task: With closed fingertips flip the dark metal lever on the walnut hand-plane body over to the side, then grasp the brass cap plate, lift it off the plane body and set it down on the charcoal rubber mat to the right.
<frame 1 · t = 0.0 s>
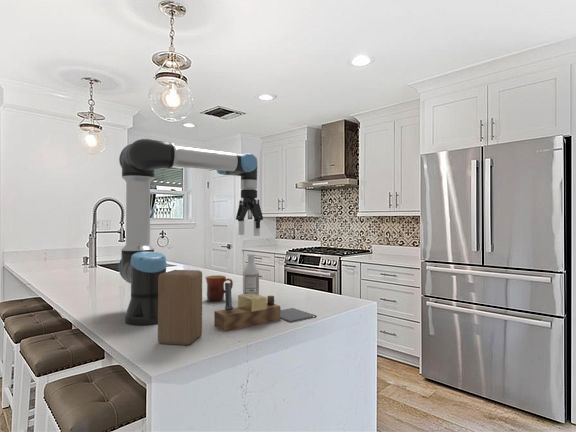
hand: (248, 235, 171), 28 cm above the countertop, fingers open, 13 cm apart
block: (180, 340, 109), on the countertop
bath foam: (251, 300, 164), on the countertop
cap: (252, 307, 128), point 5 cm above the countertop, touching plane body
mug: (219, 300, 162), on the countertop
lever: (228, 296, 123), point 10 cm above the countertop, hinge at -5.0°
mat: (291, 315, 137), on the countertop
plane body: (248, 323, 127), on the countertop
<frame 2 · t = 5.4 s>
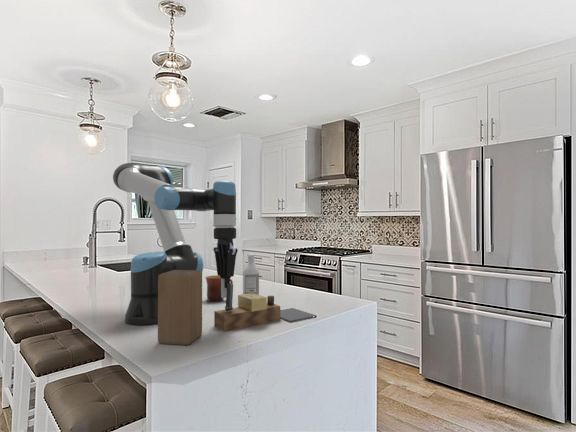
hand: (225, 297, 124), 9 cm above the countertop, fingers closed
lever: (229, 297, 122), point 10 cm above the countertop, hinge at 6.4°, touching gripper
everything else where it was.
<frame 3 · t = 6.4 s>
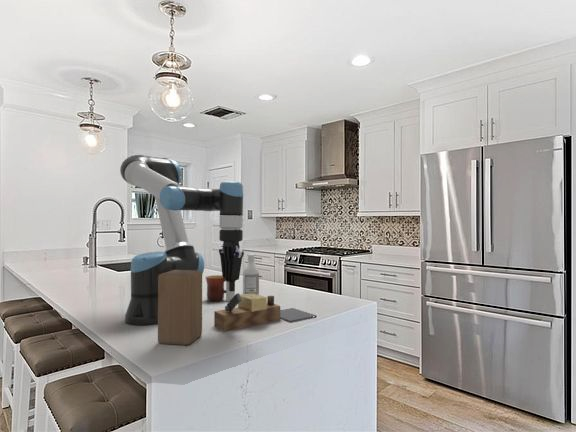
hand: (230, 300, 122), 9 cm above the countertop, fingers closed
lever: (233, 303, 120), point 8 cm above the countertop, hinge at 54.0°, touching gripper
everything else where it was.
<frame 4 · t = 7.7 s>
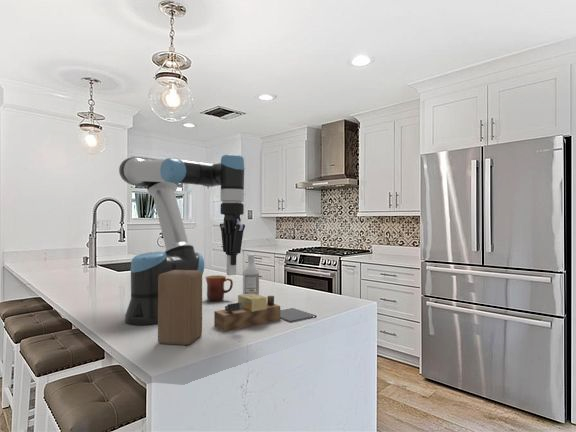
hand: (231, 274, 121), 17 cm above the countertop, fingers closed
lever: (234, 307, 119), point 7 cm above the countertop, hinge at 74.8°
everything else where it was.
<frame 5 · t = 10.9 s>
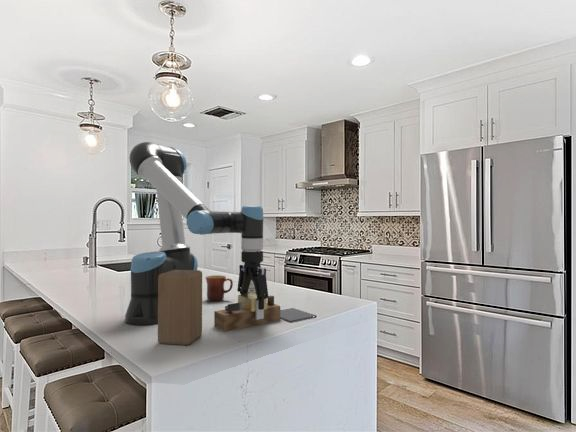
hand: (252, 315, 128), 2 cm above the countertop, fingers closed on cap, 9 cm apart
cap: (252, 307, 128), point 5 cm above the countertop, touching gripper, plane body
everything else where it was.
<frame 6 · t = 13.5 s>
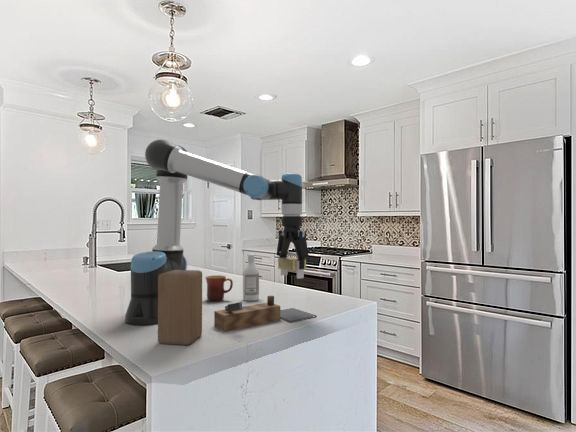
hand: (291, 276, 137), 14 cm above the countertop, fingers closed on cap, 9 cm apart
cap: (291, 269, 137), point 17 cm above the countertop, touching gripper
everything else where it was.
when the fingers open (2 cm above the countertop, at t = 16.1 s): cap drops 4 cm, resting on mat.
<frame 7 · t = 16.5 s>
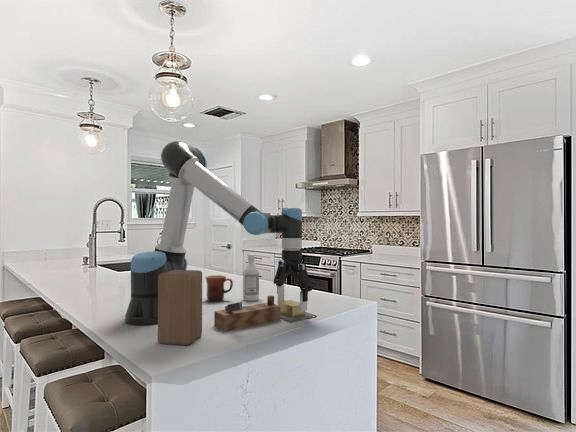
hand: (291, 306, 137), 3 cm above the countertop, fingers open, 13 cm apart
cap: (291, 313, 137), point 1 cm above the countertop, touching mat
everything else where it was.
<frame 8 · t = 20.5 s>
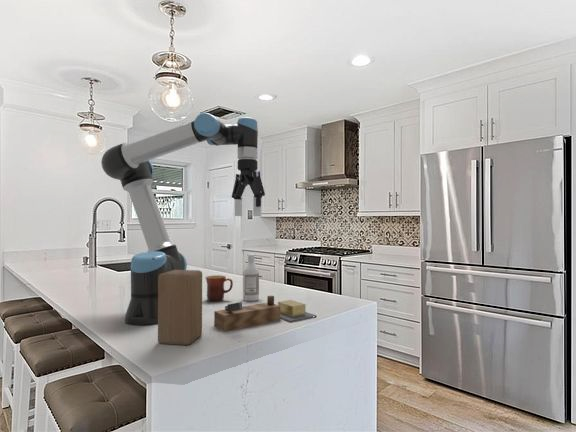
hand: (247, 216, 139), 37 cm above the countertop, fingers open, 13 cm apart
nothing on the countertop moved.
at the end: cap inside the target area on the mat (0.1 cm from its centre), point 0.6 cm above the mat's base; cap touching mat; lever at +75° (first picture: -5°) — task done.
